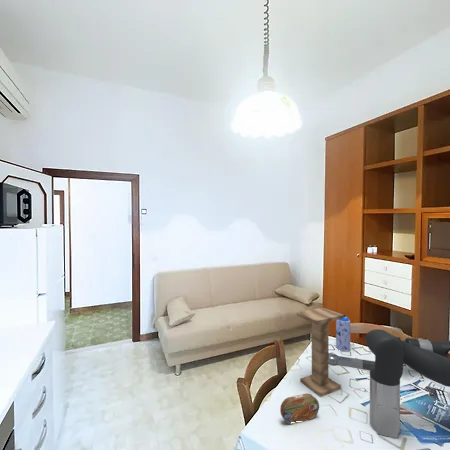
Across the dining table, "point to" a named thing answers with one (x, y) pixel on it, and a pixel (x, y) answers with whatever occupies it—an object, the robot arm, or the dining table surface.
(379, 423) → the robot arm
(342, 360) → the ratchet
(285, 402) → the tin
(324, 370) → the walnut stand
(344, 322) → the aerosol can
